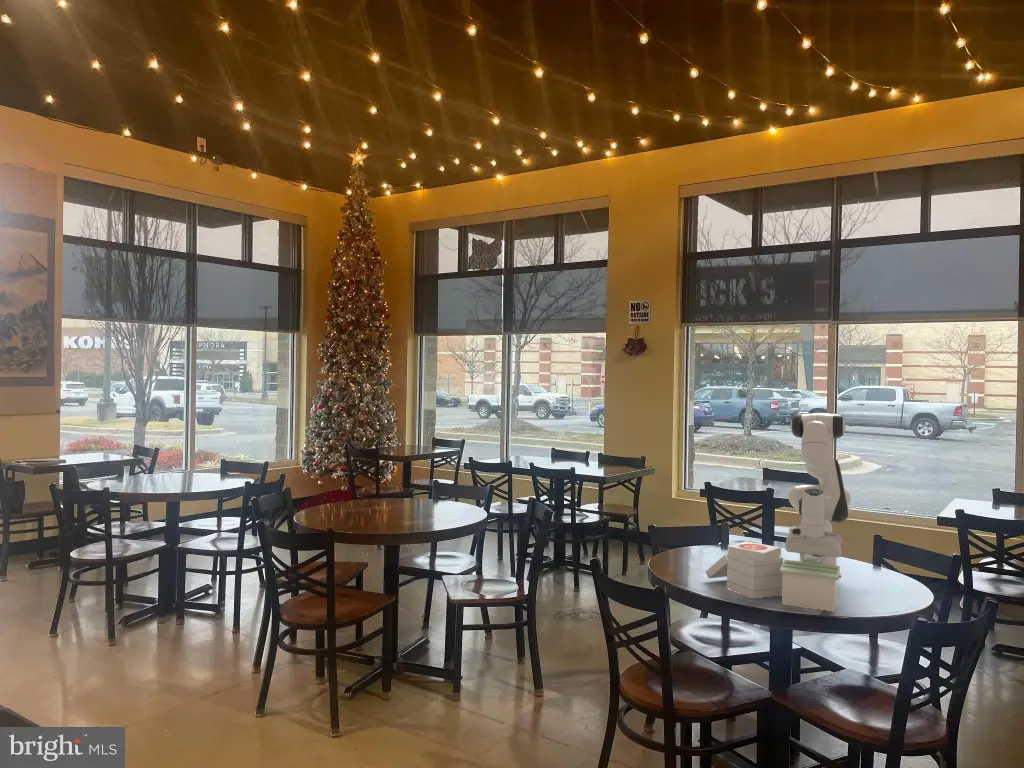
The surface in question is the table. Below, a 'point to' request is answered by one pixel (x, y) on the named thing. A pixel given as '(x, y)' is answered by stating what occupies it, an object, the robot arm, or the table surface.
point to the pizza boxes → (751, 569)
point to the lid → (810, 569)
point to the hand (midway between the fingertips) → (812, 565)
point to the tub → (809, 592)
